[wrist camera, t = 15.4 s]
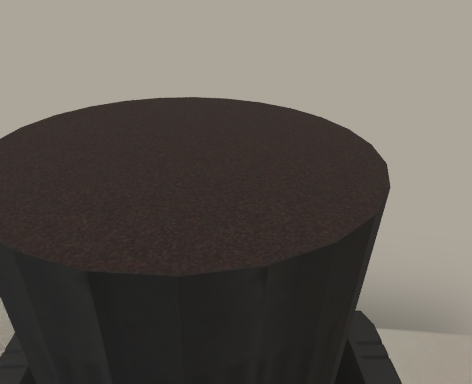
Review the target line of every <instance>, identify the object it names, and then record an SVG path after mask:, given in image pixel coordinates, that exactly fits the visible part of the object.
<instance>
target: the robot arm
mask: <svg viewBox="0 0 472 384" xmlns="http://www.w3.org/2000/svg"><path fill="white" fill-rule="evenodd" d="M0 384H36V381H35V379H34V377H33V374H32V372H31V369H30V367H29V365H28V362H27V360H26V357H25V355H24V352H23V350H22V348H21V345H20V343H19V340H18V338H17V336H16V333H15V334H14V335H13V337H12V339H11V340H10V342H9V344H8V345H7V347H6V349H5V352H4V353H3V354H2V355H1V357H0ZM334 384H402V383H401V380H400V378H399V376H398V374H397V372H396V370H395V368H394V366H393V364H392V362H391V359H389V357H388V353H387V351H386V349H385V347H384V345H382V341H381V338H380V336H379V334H378V332H377V330H376V328H375V326H374V324H373V323H372V322H371V321H370V320H369V319H368V318H367V317H366V316H365V315H364V314H363V313H362V312H361V311H355V313H354V316H353V320H352V323H351V327H350V330H349V334H348V337H347V341H346V344H345V348H344V351H343V355H342V358H341V362H340V365H339V369H338V372H337V376H336V379H335V383H334Z"/></svg>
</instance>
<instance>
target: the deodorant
mask: <svg viewBox="0 0 472 384" xmlns="http://www.w3.org/2000/svg"><path fill="white" fill-rule="evenodd" d="M389 190H390V182H389V175H388V169H387V164H386V162H385V161H384V160H383V159H382V157H381V156H380V155H379V154H378V152H377V151H376V150H375V149H374V147H373V146H372V145H371V144H370V143H368V142H366V141H365V140H364V139H362V138H361V137H359V136H358V135H356V134H355V133H353V132H352V131H350V130H349V129H347V128H345V127H342V126H340V125H338V124H335V123H333V122H331V121H328V120H326V119H324V118H322V117H318V116H315V115H312V114H308V113H305V112H301V111H298V110H295V109H291V108H286V107H280V106H276V105H270V104H265V103H260V102H251V101H242V100H233V99H220V98H198V97H189V98H188V97H185V98H154V99H143V100H132V101H123V102H117V103H110V104H104V105H98V106H91V107H87V108H83V109H79V110H75V111H71V112H66V113H63V114H58V115H54V116H52V117H49V118H46V119H43V120H41V121H38V122H35V123H32V124H30V125H27V126H24V127H21V128H19V129H17V130H16V131H14V132H12V133H10V134H8V135H7V136H5V137H3V138H1V139H0V297H1V299H2V302H3V304H4V307H5V309H6V311H7V314H8V316H9V319H10V321H11V323H12V326H13V328H14V331H15V333H16V336H17V338H18V340H19V343H20V345H21V348H22V350H23V352H24V355H25V357H26V360H27V362H28V365H29V367H30V369H31V372H32V374H33V377H34V379H35V381H36V384H334V383H335V379H336V376H337V372H338V369H339V365H340V362H341V358H342V355H343V351H344V348H345V344H346V341H347V337H348V334H349V330H350V327H351V323H352V320H353V316H354V313H355V309H356V305H357V302H358V299H359V295H360V292H361V288H362V285H363V281H364V278H365V274H366V271H367V267H368V264H369V260H370V257H371V253H372V250H373V246H374V243H375V239H376V236H377V232H378V229H379V225H380V222H381V218H382V215H383V211H384V208H385V204H386V201H387V197H388V194H389Z"/></svg>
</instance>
